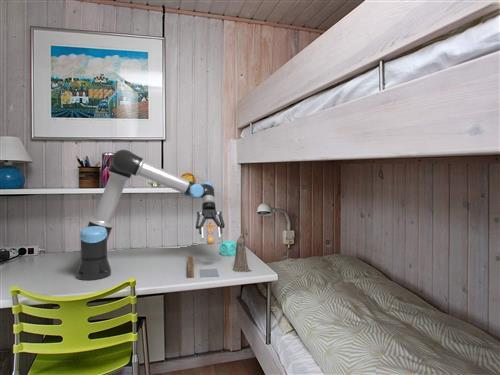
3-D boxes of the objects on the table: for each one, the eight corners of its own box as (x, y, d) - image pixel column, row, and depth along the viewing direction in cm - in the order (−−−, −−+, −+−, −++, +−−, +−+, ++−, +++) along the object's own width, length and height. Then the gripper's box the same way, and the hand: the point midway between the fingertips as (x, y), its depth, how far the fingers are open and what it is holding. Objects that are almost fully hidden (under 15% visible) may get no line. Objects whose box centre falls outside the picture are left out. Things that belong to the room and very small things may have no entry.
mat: (200, 277, 159) (200, 276, 159) (199, 270, 171) (199, 269, 171) (219, 276, 161) (219, 275, 161) (216, 269, 172) (216, 268, 172)
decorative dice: (237, 254, 204) (237, 241, 204) (228, 257, 198) (228, 243, 198) (228, 252, 209) (228, 240, 209) (219, 254, 203) (219, 242, 203)
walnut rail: (187, 278, 158) (187, 270, 158) (187, 262, 185) (187, 256, 185) (194, 277, 158) (194, 270, 158) (193, 262, 186) (193, 256, 186)
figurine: (202, 245, 172) (202, 222, 172) (203, 242, 178) (202, 221, 178) (218, 245, 173) (218, 222, 172) (218, 242, 179) (218, 220, 178)
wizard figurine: (251, 267, 176) (251, 221, 175) (252, 272, 168) (252, 223, 167) (232, 267, 176) (232, 221, 175) (232, 272, 168) (232, 223, 166)
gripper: (226, 208, 192) (230, 241, 177) (189, 209, 188) (190, 243, 173) (227, 200, 186) (231, 233, 172) (190, 200, 182) (191, 235, 167)
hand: (211, 238), depth 172 cm, fingers closed on figurine, 8 cm apart
